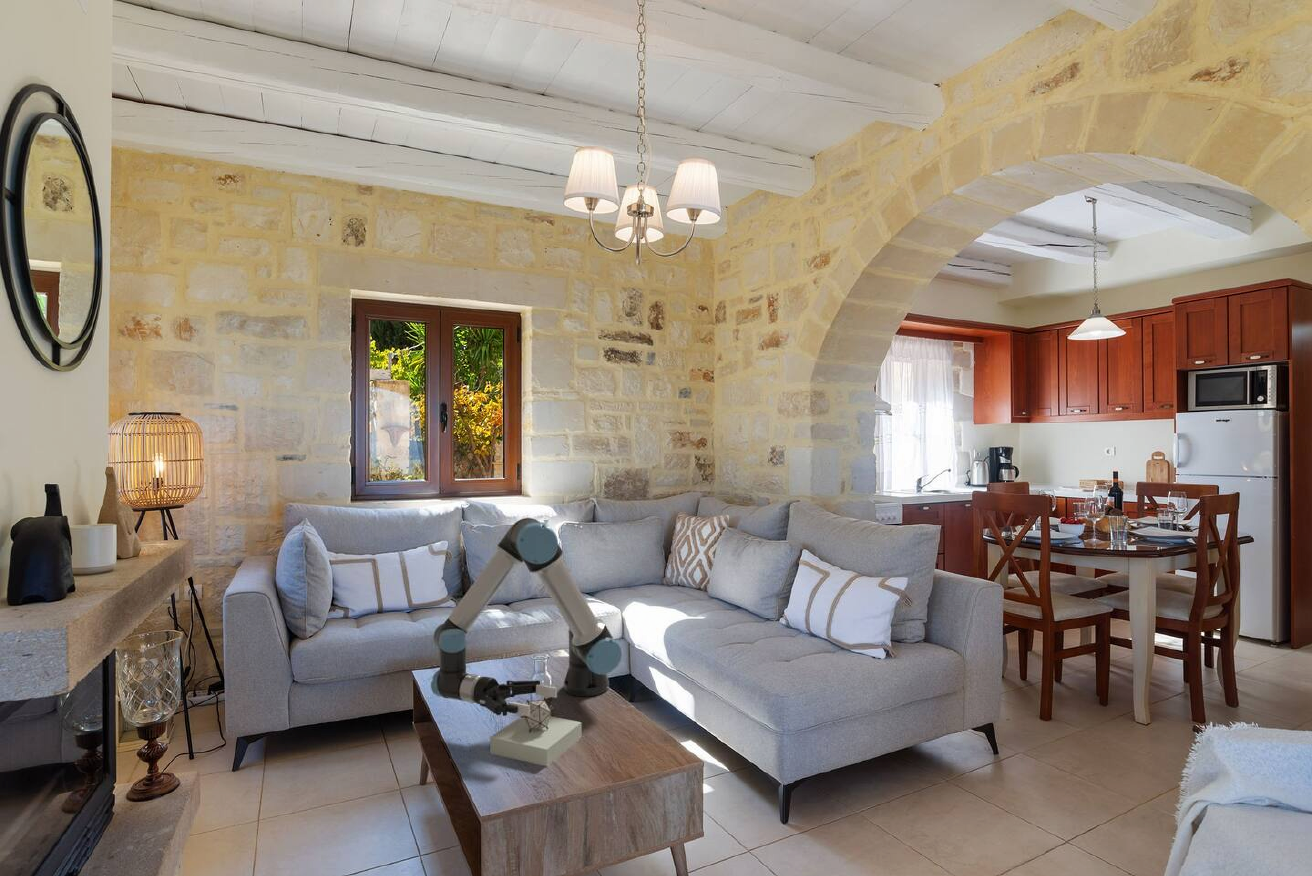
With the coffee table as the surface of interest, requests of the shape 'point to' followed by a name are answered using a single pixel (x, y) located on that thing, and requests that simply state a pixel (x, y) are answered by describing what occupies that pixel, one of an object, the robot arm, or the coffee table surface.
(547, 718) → the game die
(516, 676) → the coffee table surface
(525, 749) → the base block
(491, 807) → the coffee table surface
